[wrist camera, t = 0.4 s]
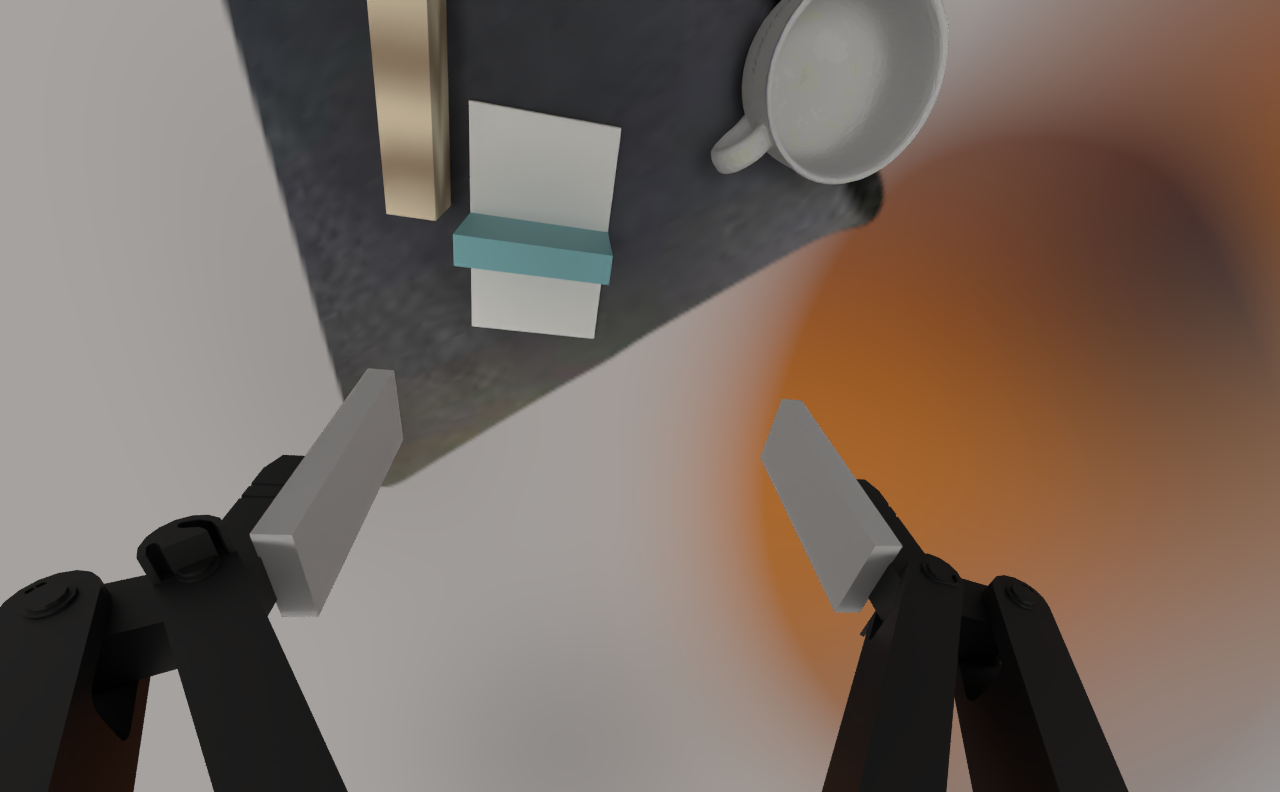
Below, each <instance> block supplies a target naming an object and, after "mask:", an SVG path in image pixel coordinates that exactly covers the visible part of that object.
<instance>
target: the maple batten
mask: <svg viewBox="0 0 1280 792" xmlns="http://www.w3.org/2000/svg"><path fill="white" fill-rule="evenodd" d="M367 6H368V17H369V28H370V39H371V50H372V61H373V72H374V83H375V94H376V105H377V116H378V127H379V137H380V148H381V159H382V170H383V181H384V192H385V203H386V214H391V215H398V216H405V217H412V218H419V219H425V220H432V221H436V220H437V219H438V218H439V217H440V216H441V215H442V214H443V213H444V212H445V211H446V210H447V209H448V208H449V207H450V206H451V177H450V137H449V97H448V57H447V17H446V0H367Z"/></svg>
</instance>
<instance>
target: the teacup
mask: <svg viewBox="0 0 1280 792" xmlns="http://www.w3.org/2000/svg"><path fill="white" fill-rule="evenodd" d="M948 26H949V24H948V23H947V18H946V13H945V9H944V6H943V2H942V0H781V1H780V2H779V3H778V4H777V5H776V6H775V8H774V9H773V10H772V11H771V12H770V13H769V15H768V16H767V17H766V18H765V20H764V21H763V23H762V25H761V26H760V28H759V29H758V31H757V33H756V35H755V37H754V39H753V41H752V44H751V46H750V49H749V52H748V55H747V58H746V61H745V66H744V70H743V78H742V101H743V108H744V113H745V115H744V116H743V117H742V118H741V119H740V120H739V122H738V123H737V124H736V125H735V126H734V127H733V128H732V129H730V130H729V131H728V132H727V133H726V134H725V135H724V136H723V137H722V138H721V139H720V140H719V141H718V142H717V143H716V144H715V145H714V147H713V148H712V150H711V159H712V162H713V164H714V166H715V167H716V169H717V170H718V171H719V172H720V173H722V174H729V173H735V172H737V171H739V170H742V169H744V168H746V167H748V166H749V165H751V164H752V163H754V162H755V161H757V160H758V159H759V158H760V157H762V156H763V155H764V154H765V153H766V152H767V153H768V154H769V155H771V156H772V157H773V158H775V159H776V160H778V161H779V162H781V163H782V164H784V165H786V166H788V167H790V168H791V169H793V170H794V171H795V172H796V173H798V174H799V175H801V176H802V177H804V178H806V179H809V180H811V181H814V182H817V183H822V184H844V183H848V182H852V181H856V180H860V179H863V178H865V177H867V176H869V175H871V174H873V173H875V172H877V171H879V170H880V169H882V168H883V167H885V166H886V165H888V164H889V163H890V162H891V161H892V160H893V159H895V158H896V157H897V156H898V155H899V154H900V153H901V152H902V151H903V150H904V149H905V148H906V147H907V146H908V144H910V142H911V141H912V140H913V139H914V137H915V136H916V135H917V134H918V132H919V130H920V129H921V128H922V126H923V125H924V123H925V122H926V120H927V118H928V116H929V114H930V112H931V110H932V108H933V106H934V104H935V102H936V99H937V97H938V94H939V91H940V88H941V85H942V81H943V78H944V73H945V68H946V63H947V57H948V37H949V32H948V31H949V27H948Z"/></svg>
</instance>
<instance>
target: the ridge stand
mask: <svg viewBox="0 0 1280 792" xmlns="http://www.w3.org/2000/svg"><path fill="white" fill-rule="evenodd" d="M620 136H621V128H620V127H616V126H610V125H605V124H599V123H594V122H589V121H583V120H578V119H572V118H567V117H562V116H556V115H551V114H545V113H540V112H535V111H529V110H524V109H518V108H513V107H507V106H502V105H497V104H491V103H486V102H480V101H475V100H469V147H470V213H469V215H468V216H467V217H466V218H465V220H464V221H463V222H462V224H461V225H460V226H459V227H458V229H457V230H456V231H455V232H454V234H453V253H454V266H459V267H467V268H471V297H472V326H475V327H485V328H494V329H504V330H514V331H523V332H533V333H543V334H552V335H562V336H571V337H581V338H591V339H594V334H595V326H596V319H597V311H598V303H599V296H600V288H601V284H604V285H609V280H610V273H611V266H612V258H613V254H612V250H611V245H610V240H609V235H608V227H609V219H610V212H611V204H612V197H613V189H614V181H615V174H616V166H617V158H618V151H619V143H620Z"/></svg>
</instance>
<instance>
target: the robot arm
mask: <svg viewBox="0 0 1280 792" xmlns="http://www.w3.org/2000/svg"><path fill="white" fill-rule="evenodd" d="M402 440H403V436H402V428H401V420H400V413H399V405H398V398H397V390H396V382H395V375H394V370H381V369H367V370H366V372H365V373H364V374H363V376H362V377H361V379H360V380H359V381H358V383H357V384H356V386H355V387H354V388H353V390H352V391H351V393H350V394H349V395H348V397H347V398H346V400H345V401H344V402H343V404H342V405H341V407H340V408H339V409H338V411H337V412H336V414H335V415H334V417H333V418H332V419H331V421H330V422H329V423H328V425H327V426H326V428H325V429H324V431H323V432H322V433H321V435H320V436H319V438H318V439H317V440H316V442H315V443H314V445H313V446H312V447H311V449H310V450H309V451H308V453H307V454H306V456H295V455H282V456H281V457H280V458H278V459H276V460H275V461H274V462H272V463H270V464H269V465H267V466H266V467H264V468H263V469H262V471H261V472H260V473H259V474H258V476H257V477H256V478H255V480H254V481H253V482H252V485H251V486H249V487H248V488H247V489H246V491H245V492H244V493H243V494H242V498H241V499H238V501H237V502H236V503H235V504H234V506H233V507H232V508H231V509H230V511H229V512H228V513H227V514H226V516H225V517H224V518H223V520H221V519H220V518H219V517H215V516H211V515H194V516H189V517H185V518H182V519H178V520H174V521H172V522H170V523H168V524H166V525H164V526H162V527H159V528H158V529H157V530H155V531H154V532H152V533H151V534H150V535H148V536H147V537H146V538H145V539H144V540H143V542H142V543H141V545H140V546H139V547H138V550H137V560H138V561H139V563H140V565H141V567H142V568H143V570H144V572H145V573H146V575H145V576H139V577H134V578H130V579H126V580H120V581H116V582H111V583H106V584H104V583H103V582H102V580H101V579H100V578H99V577H98V576H96V575H95V574H94V573H92V572H89V571H80V570H75V571H69V572H62V573H57V574H55V575H52V576H49V577H46V578H43V579H40V580H38V581H36V582H34V583H32V584H30V585H28V586H27V587H25V588H23V589H21V590H19V591H18V592H17V593H15V594H14V595H13V596H12V597H10V598H9V599H8V600H6V601H5V602H4V603H3V604H2V606H1V607H0V792H133V791H134V784H135V778H136V771H137V764H138V757H139V749H140V744H141V737H142V730H143V723H144V717H145V710H146V703H147V696H148V689H149V683H150V676H153V675H157V674H160V673H164V672H168V671H171V670H175V669H178V672H179V675H180V678H181V682H182V685H183V688H184V692H185V695H186V699H187V702H188V705H189V709H190V712H191V715H192V719H193V722H194V725H195V729H196V732H197V736H198V739H199V742H200V746H201V749H202V753H203V756H204V759H205V763H206V766H207V769H208V773H209V776H210V779H211V783H212V786H213V790H214V792H348V791H347V789H346V787H345V785H344V783H343V780H342V778H341V776H340V774H339V772H338V769H337V767H336V765H335V763H334V761H333V759H332V756H331V754H330V752H329V750H328V748H327V746H326V743H325V741H324V739H323V737H322V735H321V732H320V730H319V728H318V726H317V724H316V721H315V719H314V717H313V715H312V713H311V711H310V708H309V706H308V704H307V702H306V700H305V697H304V695H303V693H302V691H301V689H300V687H299V684H298V682H297V680H296V678H295V676H294V674H293V671H292V669H291V667H290V665H289V663H288V660H287V658H286V656H285V654H284V652H283V649H282V647H281V645H280V643H279V641H278V639H277V636H276V634H275V632H274V630H273V628H272V626H271V623H270V621H269V619H268V614H269V613H270V611H271V609H272V608H273V606H274V604H275V603H277V606H278V608H279V610H280V613H281V616H282V617H298V616H300V617H302V616H303V617H305V616H309V617H310V616H319V614H320V612H321V610H322V608H323V606H324V604H325V602H326V599H327V598H328V595H329V593H330V591H331V589H332V587H333V585H334V583H335V581H336V579H337V577H338V574H339V572H340V570H341V568H342V566H343V564H344V562H345V560H346V558H347V556H348V553H349V551H350V549H351V547H352V545H353V543H354V541H355V539H356V537H357V535H358V532H359V530H360V528H361V526H362V524H363V522H364V520H365V518H366V516H367V514H368V511H369V509H370V507H371V505H372V503H373V501H374V499H375V497H376V495H377V493H378V491H379V489H380V487H381V484H382V482H383V480H384V478H385V476H386V474H387V472H388V470H389V468H390V466H391V463H392V461H393V459H394V457H395V455H396V453H397V451H398V449H399V447H400V445H401V443H402ZM761 460H762V462H763V464H764V466H765V468H766V470H767V472H768V475H769V476H770V479H771V480H772V483H773V485H774V487H775V489H776V491H777V493H778V495H779V497H780V499H781V501H782V503H783V506H784V508H785V510H786V512H787V514H788V516H789V518H790V520H791V522H792V524H793V526H794V528H795V530H796V533H797V535H798V537H799V539H800V541H801V543H802V545H803V547H804V549H805V551H806V553H807V555H808V557H809V560H810V561H811V564H812V566H813V568H814V570H815V572H816V574H817V576H818V578H819V580H820V582H821V584H822V586H823V588H824V591H825V593H826V595H827V597H828V599H829V601H830V603H831V605H832V607H833V609H834V611H835V612H860V611H861V610H862V608H863V607H864V605H865V603H866V602H867V600H868V599H869V600H870V601H871V603H872V605H873V607H874V608H875V610H876V611H875V612H874V614H873V615H872V617H871V618H870V620H869V621H868V623H867V624H866V626H865V627H864V629H863V630H862V632H861V633H860V635H861V636H864V635H865V634H866V636H865V640H864V644H863V647H862V651H861V654H860V658H859V661H858V665H857V669H856V672H855V676H854V679H853V683H852V686H851V690H850V693H849V697H848V701H847V704H846V708H845V711H844V715H843V719H842V722H841V725H840V729H839V733H838V736H837V740H836V743H835V747H834V751H833V754H832V757H831V761H830V765H829V768H828V772H827V775H826V779H825V782H824V786H823V790H822V792H946V789H947V777H948V766H949V754H950V742H951V730H952V719H953V708H954V697H955V702H956V707H957V712H958V718H959V723H960V728H961V733H962V738H963V743H964V748H965V753H966V758H967V764H968V769H969V774H970V779H971V784H972V789H973V792H1128V790H1127V787H1126V785H1125V783H1124V780H1123V778H1122V776H1121V773H1120V771H1119V768H1118V766H1117V764H1116V761H1115V759H1114V757H1113V755H1112V752H1111V750H1110V747H1109V745H1108V743H1107V740H1106V738H1105V736H1104V733H1103V731H1102V729H1101V726H1100V724H1099V722H1098V719H1097V717H1096V715H1095V712H1094V710H1093V708H1092V705H1091V703H1090V701H1089V698H1088V696H1087V694H1086V692H1085V689H1084V687H1083V684H1082V682H1081V680H1080V677H1079V675H1078V673H1077V671H1076V668H1075V666H1074V664H1073V661H1072V659H1071V656H1070V654H1069V652H1068V649H1067V647H1066V645H1065V642H1064V640H1063V638H1062V635H1061V633H1060V631H1059V628H1058V626H1057V624H1056V621H1055V619H1054V617H1053V614H1052V612H1051V610H1050V608H1049V606H1048V604H1047V603H1046V601H1045V600H1044V598H1043V597H1042V596H1041V595H1040V594H1039V593H1038V592H1037V591H1036V590H1035V589H1033V588H1032V587H1031V586H1029V585H1027V584H1026V583H1024V582H1022V581H1020V580H1018V579H1016V578H1014V577H1009V576H1005V575H1003V576H996V578H994V580H993V581H992V582H991V583H990V584H989V585H988V586H986V585H983V584H979V583H976V582H972V581H969V580H965V579H962V578H961V577H960V576H959V574H958V573H957V571H956V570H954V569H953V568H952V567H951V566H950V565H949V564H948V563H946V562H945V561H943V560H942V559H940V558H938V557H936V556H933V555H930V554H925V553H924V552H923V551H922V549H921V548H920V546H919V545H918V544H917V542H916V541H915V540H914V538H913V537H912V536H911V534H910V533H909V531H908V530H907V529H906V527H905V526H904V525H903V523H902V522H901V520H900V519H899V518H898V517H896V514H895V512H894V511H893V509H892V508H891V507H889V506H888V503H887V501H886V500H885V499H884V497H883V496H882V495H881V493H880V492H879V491H878V490H877V489H876V488H875V487H873V486H872V485H871V484H870V483H869V482H867V481H866V480H862V479H856V478H855V477H854V476H853V474H852V473H851V471H850V470H849V468H848V467H847V466H846V464H845V463H844V461H843V460H842V458H841V457H840V455H839V454H838V453H837V451H836V450H835V448H834V447H833V445H832V444H831V442H830V441H829V439H828V438H827V437H826V435H825V434H824V433H823V431H822V430H821V428H820V426H819V425H818V424H817V422H816V421H815V419H814V418H813V416H812V415H811V414H810V412H809V411H808V410H807V408H806V406H805V405H804V404H803V402H802V401H801V400H788V399H782V400H781V403H780V406H779V409H778V411H777V414H776V416H775V419H774V422H773V425H772V427H771V430H770V433H769V435H768V438H767V441H766V444H765V446H764V449H763V452H762V455H761Z"/></svg>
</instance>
